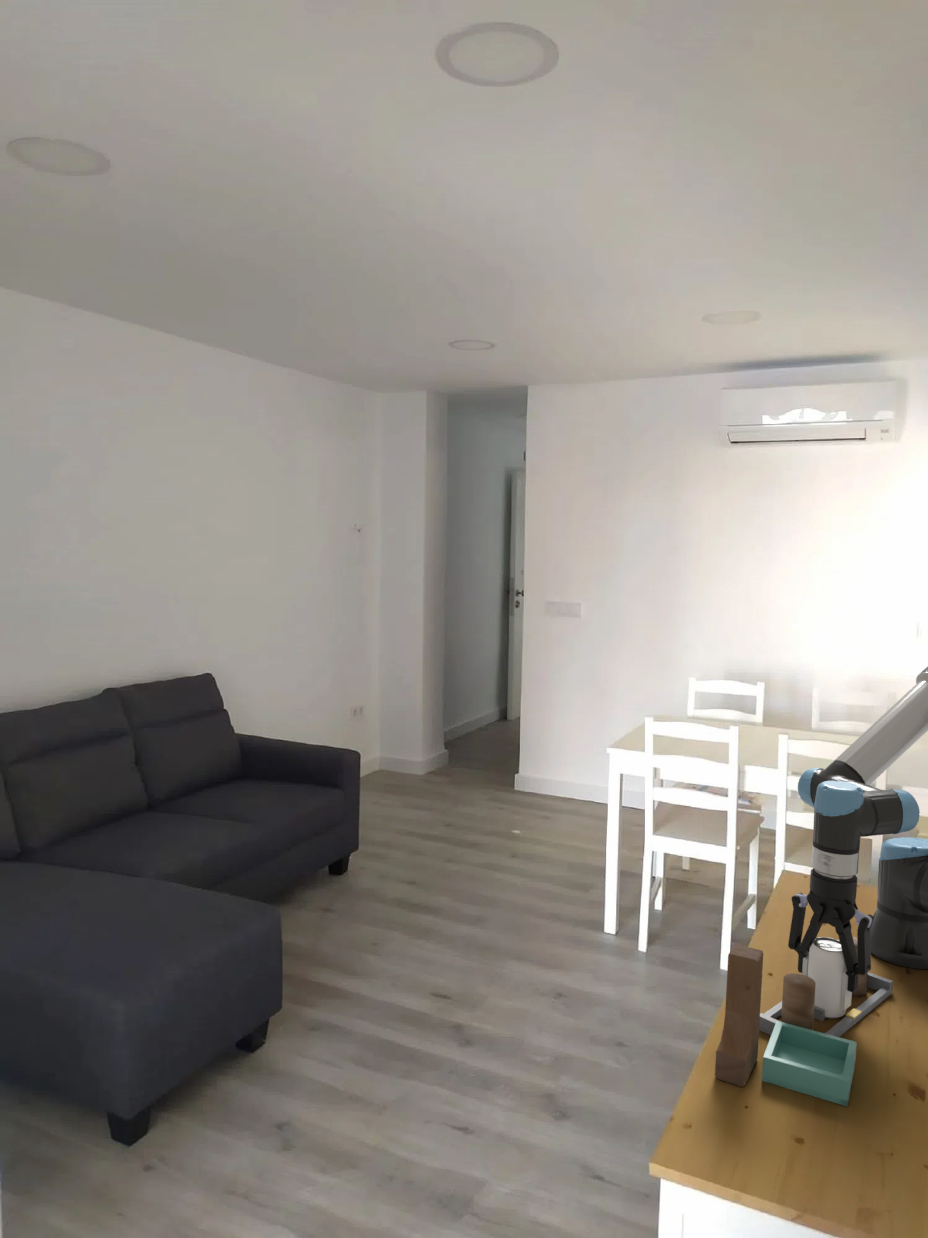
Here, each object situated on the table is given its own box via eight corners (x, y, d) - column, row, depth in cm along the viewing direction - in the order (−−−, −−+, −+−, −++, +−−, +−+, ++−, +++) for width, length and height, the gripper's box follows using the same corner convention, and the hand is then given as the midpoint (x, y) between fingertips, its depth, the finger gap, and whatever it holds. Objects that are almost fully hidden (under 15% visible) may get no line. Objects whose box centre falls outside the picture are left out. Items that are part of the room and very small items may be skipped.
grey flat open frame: (832, 971, 171) (833, 959, 171) (892, 993, 163) (893, 981, 163) (753, 1027, 150) (753, 1014, 150) (817, 1056, 142) (818, 1042, 142)
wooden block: (744, 1089, 133) (750, 973, 132) (714, 1079, 136) (719, 965, 134) (757, 1059, 141) (764, 950, 139) (729, 1051, 143) (734, 942, 142)
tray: (775, 1043, 146) (776, 1020, 146) (855, 1065, 140) (856, 1042, 140) (761, 1081, 135) (763, 1057, 135) (847, 1106, 130) (849, 1081, 129)
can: (849, 1022, 153) (853, 954, 152) (809, 1017, 154) (813, 950, 153) (841, 1003, 159) (845, 938, 158) (802, 998, 161) (806, 934, 160)
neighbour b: (796, 1022, 153) (799, 971, 152) (819, 1037, 148) (822, 985, 147) (774, 1027, 151) (777, 976, 150) (795, 1043, 146) (799, 990, 145)
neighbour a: (851, 981, 168) (853, 934, 167) (872, 993, 163) (875, 945, 162) (831, 985, 166) (833, 938, 165) (852, 998, 161) (854, 949, 161)
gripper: (771, 861, 159) (764, 985, 161) (882, 894, 145) (872, 1029, 147) (791, 852, 164) (784, 972, 166) (900, 882, 150) (890, 1014, 152)
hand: (825, 999), depth 157 cm, fingers closed on can, 6 cm apart
